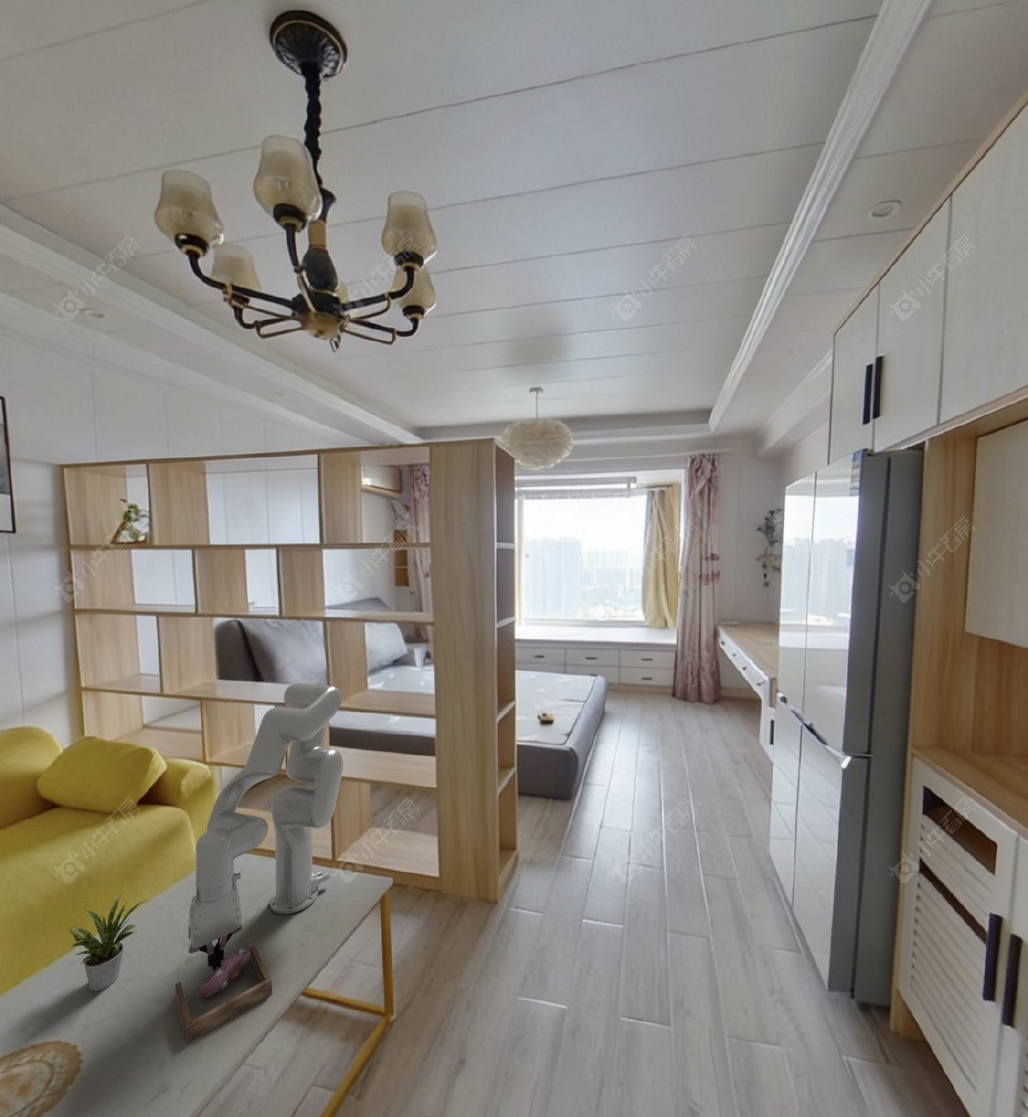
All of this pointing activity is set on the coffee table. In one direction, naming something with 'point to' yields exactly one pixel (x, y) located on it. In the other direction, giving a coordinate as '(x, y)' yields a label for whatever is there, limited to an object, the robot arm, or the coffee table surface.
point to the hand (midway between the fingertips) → (215, 965)
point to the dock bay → (227, 1008)
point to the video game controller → (225, 973)
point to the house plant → (103, 947)
